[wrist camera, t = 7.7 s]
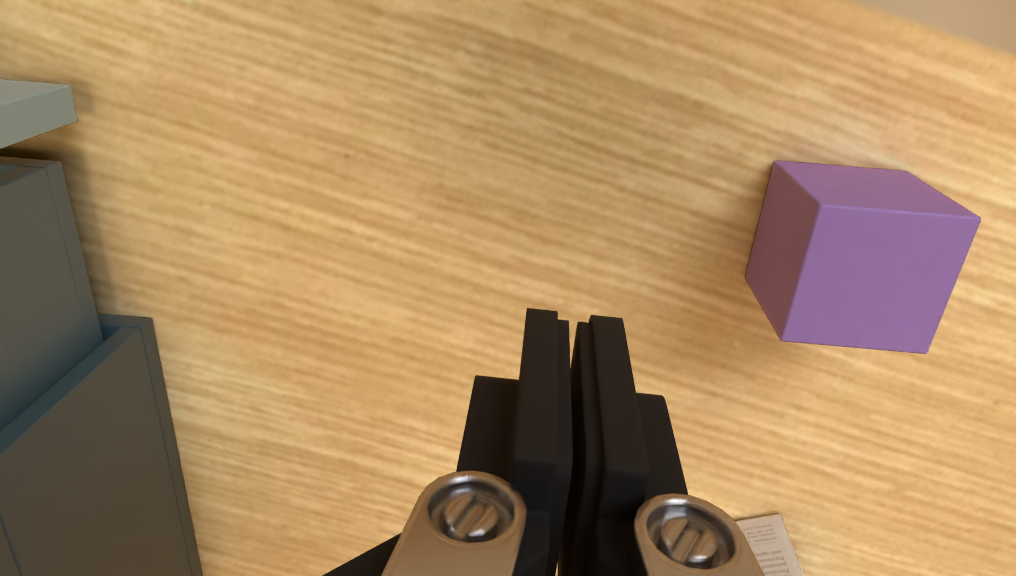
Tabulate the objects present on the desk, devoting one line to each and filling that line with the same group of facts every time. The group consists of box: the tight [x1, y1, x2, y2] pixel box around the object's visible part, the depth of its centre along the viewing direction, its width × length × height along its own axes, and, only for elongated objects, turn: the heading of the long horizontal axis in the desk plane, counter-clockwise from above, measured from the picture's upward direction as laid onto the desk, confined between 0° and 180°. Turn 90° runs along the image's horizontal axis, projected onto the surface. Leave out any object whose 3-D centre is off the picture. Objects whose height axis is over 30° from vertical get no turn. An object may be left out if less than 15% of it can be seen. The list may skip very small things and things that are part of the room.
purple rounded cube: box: [745, 161, 981, 354], centre depth 21 cm, size 4×4×4 cm
